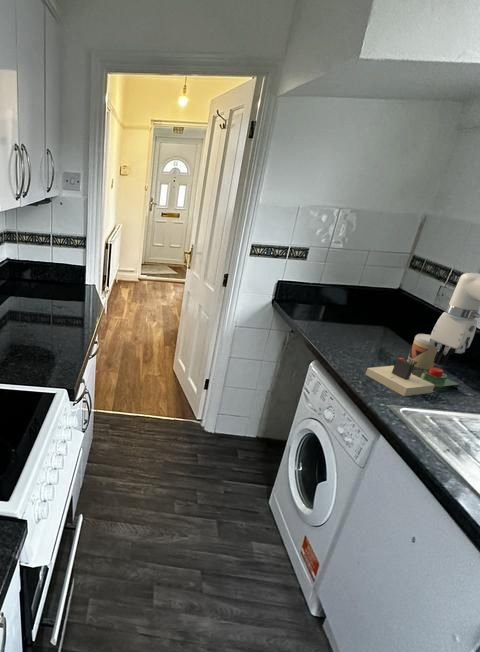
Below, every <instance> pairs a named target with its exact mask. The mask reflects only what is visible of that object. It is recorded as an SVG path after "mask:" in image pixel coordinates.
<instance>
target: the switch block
mask: <svg viewBox="0 0 480 652" xmlns="http://www.w3.org/2000/svg"><path fill="white" fill-rule="evenodd" d="M429 370H430V369H422V370H419V371H418V370H414V371H413V370H412V373H411V374H413V375H415V376H417V377H419V378H421V379H423V380H425V381H427V382H430V383H432V384H434V385H435V386H434V388H433V392H435V393H441V392H442V393H443V392H451V391H457V390H458V387H459V386H460V383H458V382H455V381H453V380H451V379H449V378H448V375H447V374H446V373H445V372H443V374H442V376H436V375H433V374H430V373H429Z"/></svg>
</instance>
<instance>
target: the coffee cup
mask: <svg viewBox="0 0 480 652" xmlns="http://www.w3.org/2000/svg"><path fill="white" fill-rule="evenodd" d="M430 339H431V334H429V333H428V334H425V333H418V334H416V335H414V340H413V343H412V344H411V348H410V350H409V354H408V357H407V360H406V361H408V362H411V363H413V364H415V365H414V368H413V370H414V371H420V370H421V369H422V370H424V369H430V368H431V367H434V368H435V365H436V363H433V362H434V358H435V356H436V353H437V351H436V347H435V345H434V344H433V343H431V342H430V341H429V340H430ZM416 368H418V369H416ZM419 369H420V370H419Z"/></svg>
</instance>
